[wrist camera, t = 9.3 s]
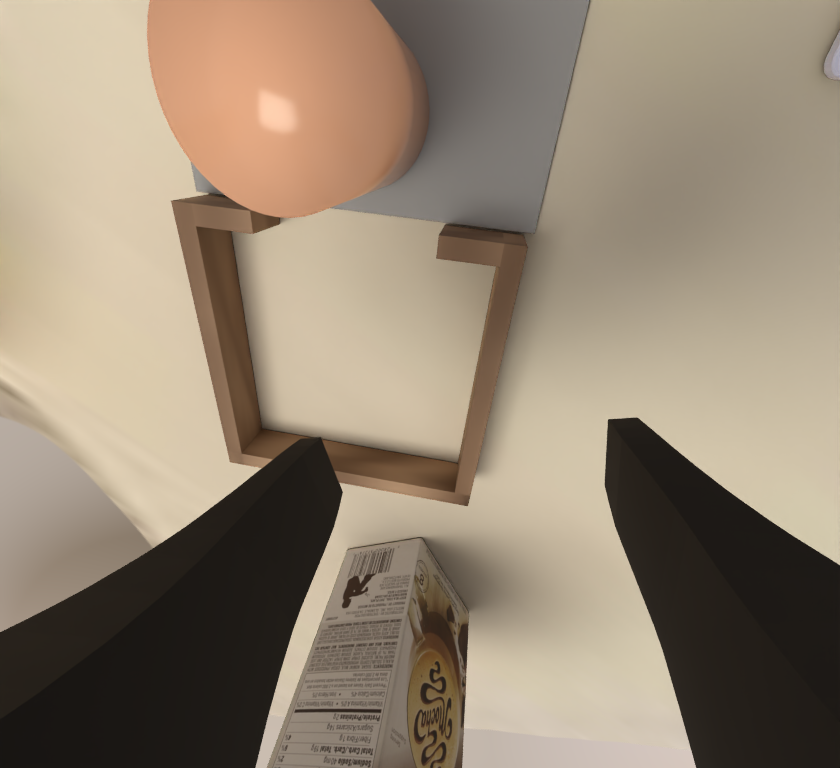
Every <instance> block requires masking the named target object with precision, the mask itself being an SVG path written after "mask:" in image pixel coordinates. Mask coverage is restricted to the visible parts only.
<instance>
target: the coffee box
mask: <svg viewBox="0 0 840 768" xmlns="http://www.w3.org/2000/svg"><path fill="white" fill-rule="evenodd" d="M468 623H469V613H468V611H467V609H466V607H465V606H464V604H463V603H462V601H461V600H460V598H459V597H458V595H457V593H456V592H455V590H454V588H453V587H452V585H451V584H450V582H449V581H448V579H447V577H446V576H445V574H444V573H443V571H442V569H441V568H440V566H439V565H438V563H437V561H436V560H435V558H434V557H433V555H432V553H431V552H430V550H429V549H428V547H427V545H426V544H425V542H424V541H423V539H422V538H416V539H410V540H404V541H398V542H392V543H385V544H379V545H373V546H366V547H360V548H354V549H348V550H347V552H346V555H345V558H344V560H343V563H342V566H341V569H340V571H339V574H338V577H337V580H336V582H335V585H334V588H333V590H332V593H331V596H330V599H329V601H328V604H327V607H326V609H325V612H324V615H323V618H322V621H321V623H320V626H319V629H318V631H317V634H316V637H315V639H314V642H313V645H312V647H311V650H310V653H309V655H308V658H307V661H306V663H305V666H304V669H303V671H302V674H301V677H300V680H299V682H298V685H297V688H296V690H295V693H294V696H293V698H292V701H291V704H290V707H289V709H288V712H287V715H286V717H285V720H284V723H283V726H282V728H281V731H280V733H279V736H278V739H277V742H276V744H275V747H274V750H273V752H272V755H271V758H270V760H269V763H268V766H267V768H462V757H463V735H464V713H465V696H466V668H467V646H468Z"/></svg>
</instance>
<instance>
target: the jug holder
mask: <svg viewBox="0 0 840 768" xmlns="http://www.w3.org/2000/svg"><path fill="white" fill-rule="evenodd" d="M171 202H172V207H173V211H174V216H175V220H176V225H177V229H178V233H179V238H180V242H181V247H182V251H183V256H184V260H185V264H186V269H187V273H188V278H189V282H190V287H191V291H192V295H193V300H194V304H195V309H196V313H197V318H198V322H199V326H200V331H201V335H202V340H203V344H204V349H205V353H206V358H207V362H208V366H209V371H210V375H211V380H212V384H213V389H214V393H215V397H216V402H217V406H218V411H219V415H220V420H221V424H222V428H223V433H224V437H225V442H226V446H227V451H228V455H229V459H230V462H232V463H238V464H243V465H248V466H254V467H259V468H263V467H264V466H265V465H267V464H268V463H269V462H270V461H272V460H273V459H274V458H275V457H277V456H278V455H279V454H280V453H282V452H283V451H284V450H286V449H287V448H288V447H290V446H291V445H292V444H294V443H295V442H297V441H298V440H299V439H302V438H311V437H305V436H299V435H294V434H288V433H282V432H277V431H271V430H265V429H262V426H261V420H260V414H259V407H258V401H257V395H256V388H255V382H254V376H253V369H252V363H251V357H250V350H249V344H248V338H247V331H246V325H245V318H244V312H243V306H242V299H241V293H240V287H239V280H238V274H237V268H236V261H235V255H234V249H233V242H232V236H231V231H235V232H243V233H250V234H254V233H257V232H259V231H262V230H265V229H268V228H271V227H273V226H276V225H279V224H280V222H279V217H274V216H269V215H264V214H261V213H258V212H256V211H253V210H250V209H248V208H246V207H244V206H242V205H240V204H238V203H236V202H235V201H233V200H232V199H230V198H229V197H221V196H213V195H203V196H197V197H191V198H185V199H179V200H173V201H171ZM527 248H528V246H527V243H526V241H525V238H524V235H522V234H514V233H506V232H498V231H490V230H482V229H474V228H467V227H459V226H451V225H445V226H444V228H443V229H442V231H441V233H440V234H439V240H438V248H437V257H436V258H437V259H445V260H452V261H460V262H467V263H475V264H482V265H490V266H496V270H495V275H494V280H493V285H492V291H491V296H490V301H489V306H488V311H487V316H486V321H485V327H484V332H483V337H482V342H481V347H480V352H479V357H478V362H477V368H476V373H475V378H474V383H473V388H472V393H471V398H470V404H469V409H468V414H467V419H466V424H465V429H464V434H463V439H462V445H461V450H460V455H459V460H458V463H452V462H446V461H441V460H435V459H430V458H424V457H418V456H413V455H407V454H401V453H396V452H390V451H384V450H379V449H373V448H367V447H362V446H356V445H350V444H345V443H339V442H333V441H328V440H322V441H323V444H324V446H325V449H326V451H327V454H328V456H329V459H330V461H331V464H332V466H333V469H334V471H335V474H336V476H337V479H338V481H339V482H340V483H346V484H351V485H356V486H362V487H367V488H372V489H378V490H383V491H389V492H394V493H399V494H405V495H410V496H416V497H421V498H426V499H432V500H437V501H443V502H448V503H453V504H459V505H464V506H468V503H469V499H470V494H471V490H472V486H473V482H474V477H475V473H476V469H477V464H478V460H479V456H480V451H481V447H482V443H483V438H484V434H485V430H486V425H487V421H488V417H489V412H490V408H491V404H492V399H493V395H494V391H495V386H496V382H497V378H498V373H499V369H500V365H501V361H502V356H503V352H504V348H505V343H506V339H507V335H508V330H509V326H510V322H511V317H512V313H513V309H514V304H515V300H516V296H517V291H518V287H519V283H520V278H521V274H522V270H523V265H524V261H525V257H526V253H527Z"/></svg>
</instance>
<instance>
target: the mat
mask: <svg viewBox="0 0 840 768" xmlns="http://www.w3.org/2000/svg"><path fill="white" fill-rule="evenodd" d="M589 1H590V0H371V2H372V3H373V4H374V5H375V6H376V8H377V9H378V10H379V11H380V13H381V14H382V15H383V16H384V17H385V19H386V20H387V21H388V22H389V24H390V25H391V26H392V27H393V28H394V30H395V31H396V32H397V33H398V35H399V36H400V37H401V38H402V39H403V41H404V42H405V43H406V44H407V46H408V47H409V48H410V50H411V51H412V52H413V54H414V56H415V58H416V59H417V61H418V63H419V65H420V67H421V70H422V72H423V75H424V78H425V82H426V85H427V90H428V96H429V107H430V110H429V125H428V131H427V135H426V139H425V142H424V145H423V148H422V150H421V152H420V154H419V156H418V158H417V160H416V161H415V163H414V164H413V165H412V167H411V168H410V169H409V170H408V171H407V173H406V174H405V175H403V176H402V177H401V178H400V179H399V180H397V181H395V182H394V183H392V184H390V185H388V186H386V187H383V188H381V189H378V190H375V191H373V192H370V193H367V194H365V195H362V196H360V197H357V198H354V199H352V200H349V201H346V202H344V203H341V204H339V205H336V206H333V207H331V208H334V209H342V210H350V211H357V212H365V213H373V214H381V215H389V216H397V217H405V218H413V219H421V220H429V221H437V222H445V223H453V224H461V225H469V226H477V227H485V228H493V229H501V230H508V231H516V232H524V233H532V234H535V229H536V225H537V221H538V217H539V212H540V208H541V204H542V200H543V195H544V191H545V187H546V183H547V179H548V174H549V170H550V166H551V162H552V157H553V153H554V149H555V145H556V140H557V136H558V132H559V128H560V123H561V119H562V115H563V111H564V107H565V102H566V98H567V94H568V90H569V85H570V81H571V77H572V73H573V68H574V64H575V60H576V56H577V51H578V47H579V43H580V39H581V35H582V30H583V26H584V22H585V18H586V13H587V9H588V5H589ZM191 165H192V170H193V176H194V181H195V186H196V191H199V192H207V193H214V194H222V195H224V194H223V193H222V192H221V191H219V190H218V189H217V188H216V187H214V186H213V185H212V184H211V183H210V182H209V181H208V180H207V179H206V178H205V177H204V176H203V175H202V174H201V173H200V171H199V170H198V169H197V168H196V167H195V166H194V164H193V163H192V162H191Z"/></svg>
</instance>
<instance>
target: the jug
mask: <svg viewBox="0 0 840 768" xmlns="http://www.w3.org/2000/svg"><path fill="white" fill-rule="evenodd" d="M147 40H148V53H149V61H150V67H151V72H152V78H153V81H154V85H155V89H156V93H157V96H158V99H159V102H160V104H161V107H162V110H163V113H164V115H165V117H166V119H167V122H168V124H169V126H170V128H171V130H172V132H173V134H174V136H175V137H176V139H177V141H178V143H179V144H180V146H181V148H182V149H183V151H184V152H185V153H186V155H187V156H188V158H189V159H190V161H191V162H192V163H193V164H194V166H195V167H196V168H197V169H198V170H199V171H200V173H201V174H202V175H203V176H204V177H205V178H206V179H207V180H208V181H209V182H210V183H211V184H212V185H213V186H214V187H216V188H217V189H218V190H219V191H221V192H222V193H223V194H224V195H226V196H227V197H229V198H230V199H232V200H233V201H235V202H236V203H238V204H240V205H242V206H244V207H246V208H248V209H250V210H253V211H256V212H258V213H261V214H264V215H269V216H274V217H285V218H293V217H303V216H307V215H311V214H315V213H318V212H320V211H323V210H325V209H328V208H331V207H333V206H336V205H339V204H341V203H344V202H346V201H349V200H352V199H354V198H357V197H360V196H362V195H365V194H367V193H370V192H373V191H375V190H378V189H381V188H383V187H386V186H388V185H390V184H392V183H394V182H395V181H397V180H399V179H400V178H401V177H402V176H403V175H405V174H406V173H407V171H408V170H409V169H410V168H411V167H412V165H413V164H414V163H415V161H416V160H417V158H418V156H419V154H420V152H421V150H422V148H423V145H424V142H425V139H426V135H427V131H428V125H429V110H430V107H429V96H428V90H427V85H426V82H425V78H424V75H423V72H422V70H421V67H420V65H419V63H418V61H417V59H416V58H415V56H414V54H413V52H412V51H411V50H410V48H409V47H408V46H407V44H406V43H405V42H404V41H403V39H402V38H401V37H400V36H399V35H398V33H397V32H396V31H395V30H394V28H393V27H392V26H391V25H390V24H389V22H388V21H387V20H386V19H385V17H384V16H383V15H382V14H381V13H380V11H379V10H378V9H377V8H376V6H375V5H374V4H373V3H372V2H371V0H150V3H149V11H148V26H147Z"/></svg>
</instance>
